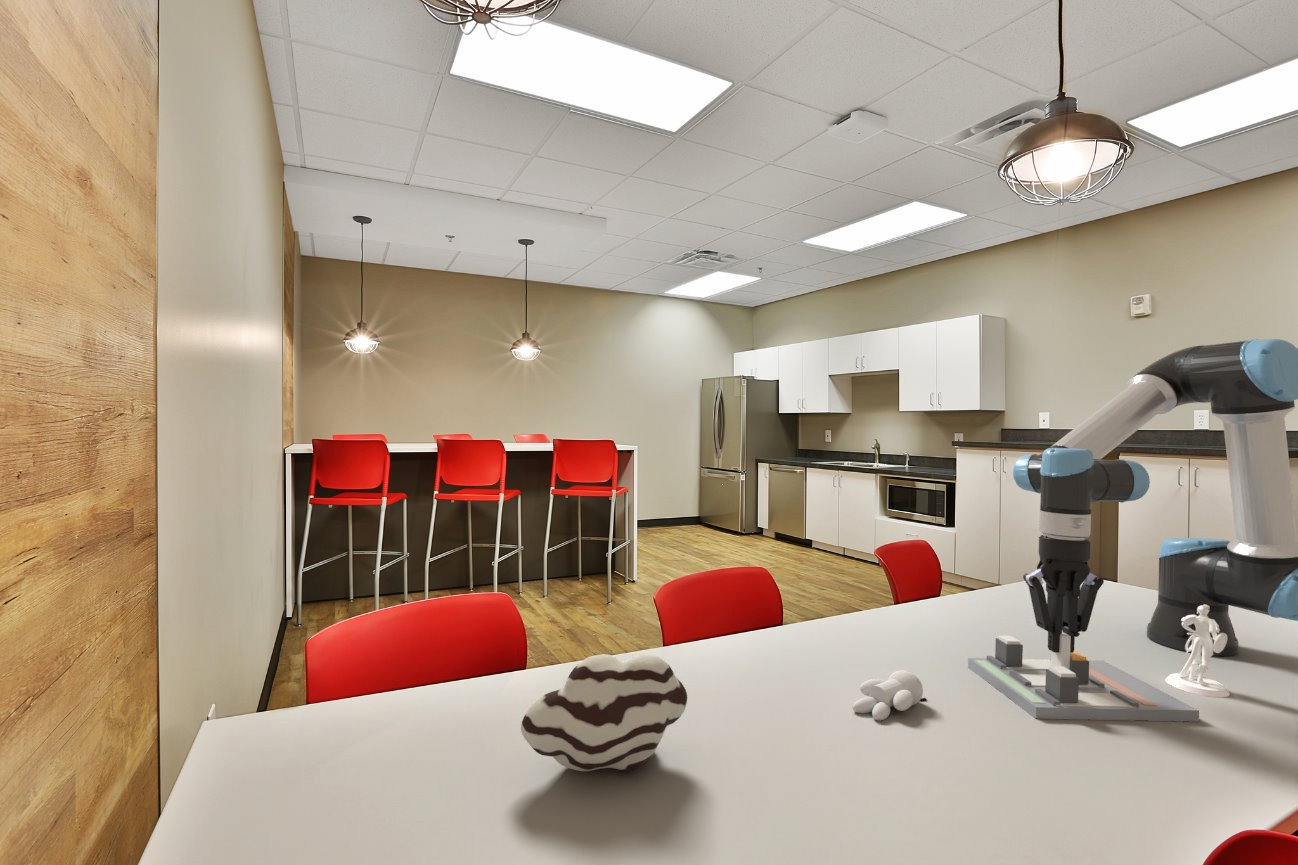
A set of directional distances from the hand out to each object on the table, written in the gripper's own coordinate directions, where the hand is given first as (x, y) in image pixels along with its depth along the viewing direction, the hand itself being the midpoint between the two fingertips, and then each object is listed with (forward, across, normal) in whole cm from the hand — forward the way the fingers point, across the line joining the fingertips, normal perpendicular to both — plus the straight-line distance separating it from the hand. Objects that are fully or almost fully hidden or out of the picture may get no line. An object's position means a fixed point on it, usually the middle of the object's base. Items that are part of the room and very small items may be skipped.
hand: (1060, 670), depth 110 cm
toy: (+4, -32, -7) cm, 33 cm away
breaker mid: (+2, +2, 0) cm, 3 cm away
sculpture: (+4, -78, -28) cm, 83 cm away
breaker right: (+2, -5, -8) cm, 9 cm away
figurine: (+4, +27, +4) cm, 28 cm away
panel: (+4, +2, 0) cm, 4 cm away
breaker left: (+2, -5, +7) cm, 9 cm away
